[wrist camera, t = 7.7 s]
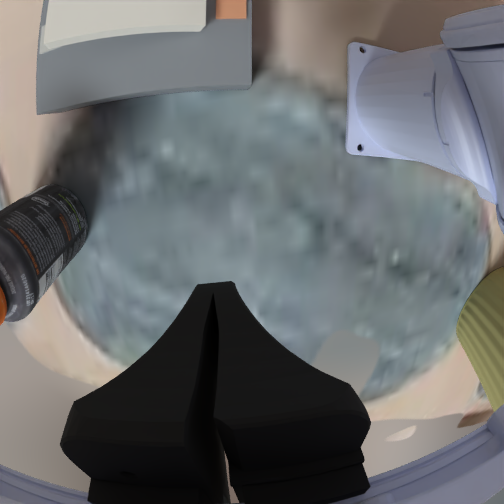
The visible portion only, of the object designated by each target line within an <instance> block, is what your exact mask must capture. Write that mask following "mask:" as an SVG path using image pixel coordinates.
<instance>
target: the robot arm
mask: <svg viewBox="0 0 504 504" xmlns="http://www.w3.org/2000/svg"><path fill="white" fill-rule="evenodd" d="M440 37H441V39H442V41H443V43H444V44H439V45H434V46H428V47H423V48H418V49H414V50H409V51H405V52H397V51H393V50H389V49H385V48H381V47H377V46H373V45H368V44H364V43H359V42H352V43H349V44H348V47H347V64H348V81H347V123H346V144H345V147H346V150H347V152H348V153H350V154H353V155H366V156H377V157H387V158H396V159H405V160H413V161H420V162H423V163H426V164H428V165H431V166H434V167H437V168H439V169H442V170H444V171H447V172H450V173H452V174H455V175H457V176H459V177H462V178H464V179H467V180H469V181H471V182H472V183H473V184H474V185H475V187H476V188H477V191H478V194H479V197H481V198H483V199H485V200H487V201H489V202H491V203H493V204H495V205H496V212H497V220H498V223H499V226H500V228H501V230H502V232H503V234H504V4H503V5H497V6H492V7H487V8H482V9H478V10H473V11H469V12H466V13H462V14H458V15H455V16H452V17H449V18H447V19H445V22H444V26H443V30H442V31H440ZM360 47H361V48H363V49H364V53H362V52H361V51H360V49H359V48H360ZM359 144H361V146H362V149H361V150H360V151H358V149H357V147H358V145H359ZM370 425H371V421H370V418H369V415H368V413H367V410H366V408H365V406H364V405H363V403H362V401H361V400H360V398H359V397H358V395H357V394H356V393H355V391H354V389H353V388H352V387H351V385H350V384H348V383H346V382H344V381H342V380H339V379H337V378H335V377H333V376H330V375H328V374H326V373H324V372H322V371H320V370H318V369H316V368H314V367H313V366H311V365H309V364H308V363H306V362H305V361H303V360H302V359H300V358H299V357H297V356H296V355H295V354H293V353H292V352H290V351H289V350H288V349H286V348H285V347H284V346H283V345H282V344H280V343H279V342H278V341H277V340H276V339H275V338H274V337H273V336H272V335H270V334H269V333H268V332H267V331H266V329H265V328H264V327H263V326H262V325H261V324H260V323H259V322H258V321H257V319H256V318H255V317H254V316H253V314H252V313H251V312H250V310H249V309H248V307H247V306H246V305H245V303H244V302H243V300H242V298H241V297H240V295H239V293H238V291H237V289H236V286H235V283H233V282H232V281H227V282H218V283H207V284H198V285H197V286H196V287H195V289H194V291H193V292H192V294H191V296H190V297H189V299H188V301H187V302H186V304H185V305H184V307H183V308H182V310H181V311H180V313H179V314H178V316H177V317H176V319H175V320H174V321H173V323H172V324H171V325H170V326H169V328H168V329H167V330H166V332H165V333H164V334H163V335H162V336H161V338H160V339H159V340H158V341H157V342H156V343H155V344H154V345H153V346H152V347H151V348H150V349H149V350H148V351H147V352H146V353H145V354H144V355H143V356H142V357H141V358H139V359H138V360H137V361H136V362H135V363H134V364H132V365H131V366H130V367H129V368H128V369H126V370H125V371H124V372H122V373H121V374H120V375H118V376H117V377H115V378H114V379H112V380H111V381H109V382H108V383H106V384H105V385H103V386H102V387H100V388H98V389H96V390H95V391H93V392H91V393H89V394H87V395H86V396H84V397H82V398H80V399H78V400H76V401H74V403H73V405H72V408H71V410H70V413H69V415H68V418H67V422H66V425H65V428H64V431H63V435H62V438H61V442H60V446H61V448H62V450H63V452H64V454H65V455H66V456H67V457H68V458H69V459H70V460H71V461H72V462H73V463H74V464H75V465H76V466H78V467H79V468H80V469H81V470H82V471H83V472H85V473H86V474H87V475H88V476H89V477H91V482H90V487H89V493H87V492H83V491H79V490H75V489H70V488H67V487H63V486H59V485H56V484H53V483H49V482H46V481H43V480H40V479H37V478H34V477H31V476H28V475H25V474H23V473H20V472H17V471H15V470H12V469H10V468H8V467H5V466H3V465H0V504H231V502H230V495H229V487H228V480H227V473H226V462H225V454H226V456H227V459H228V464H229V477H230V485H231V486H232V487H233V489H234V491H235V493H236V496H237V498H238V500H239V503H232V504H483V503H484V502H485V501H487V500H489V499H490V498H491V497H492V496H494V495H495V494H496V493H498V492H499V491H500V490H501V489H503V488H504V404H503V405H502V406H501V407H499V408H498V409H497V410H496V411H495V412H494V413H493V414H492V416H491V417H490V418H489V419H488V421H487V423H486V424H485V425H483V426H481V427H480V428H478V429H476V430H475V431H473V432H471V433H470V434H468V435H466V436H464V437H462V438H461V439H459V440H457V441H455V442H453V443H451V444H449V445H447V446H445V447H443V448H441V449H439V450H437V451H435V452H433V453H431V454H429V455H427V456H424V457H422V458H420V459H418V460H415V461H413V462H411V463H408V464H406V465H404V466H401V467H398V468H396V469H393V470H390V471H387V472H385V473H382V474H379V475H376V476H373V477H370V478H367V476H366V472H365V470H364V467H363V464H362V463H363V462H364V456H363V453H362V450H361V445H362V443H363V441H364V439H365V437H366V435H367V433H368V431H369V429H370ZM224 451H225V453H224Z"/></svg>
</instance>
